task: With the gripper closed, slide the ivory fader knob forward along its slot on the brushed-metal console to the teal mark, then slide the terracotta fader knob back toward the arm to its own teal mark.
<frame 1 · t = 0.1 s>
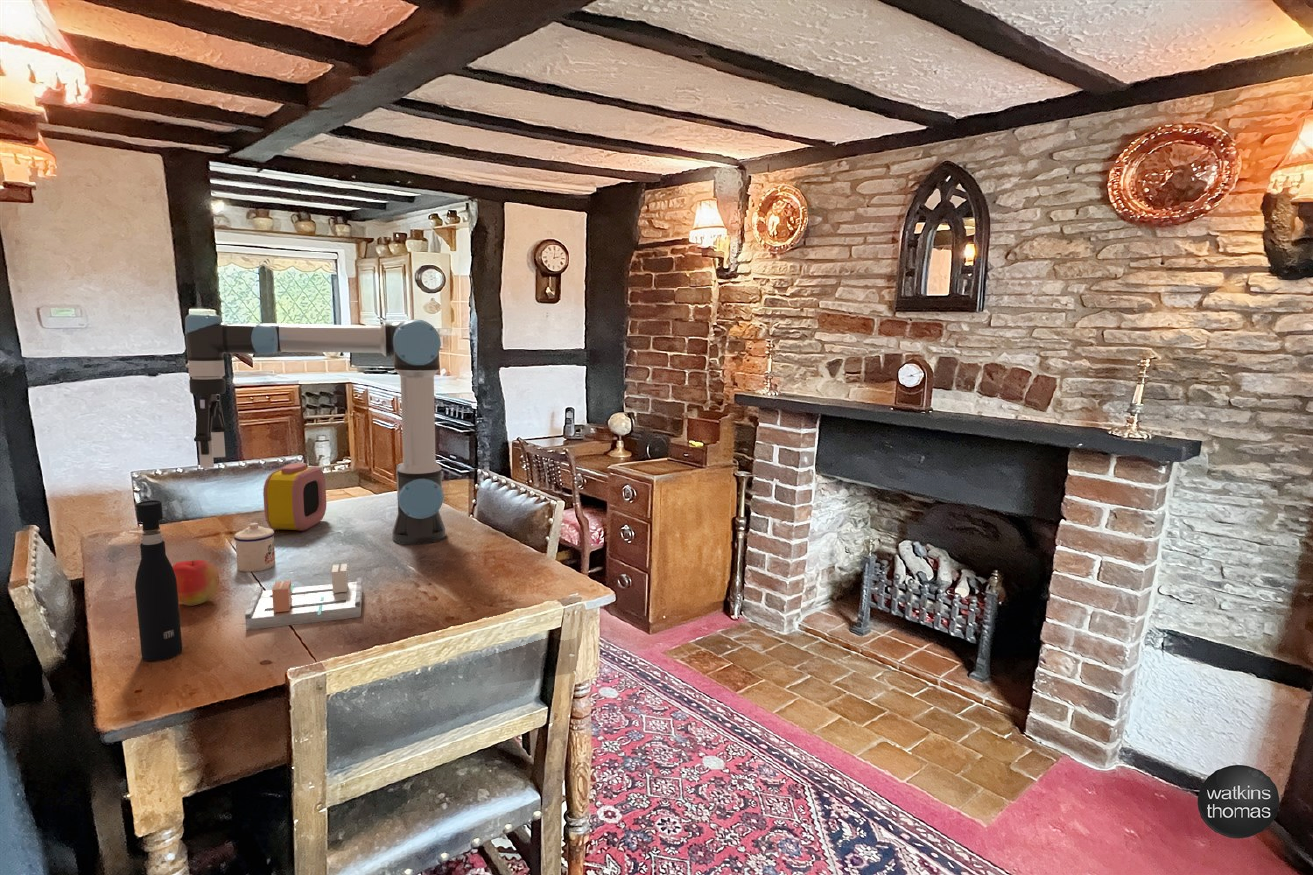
hand: (213, 462, 176), 28 cm above the table, fingers open, 13 cm apart
fader A: (340, 577, 162), point 5 cm above the table, slide at 0.0 cm
alarm clock: (297, 526, 218), on the table
teacup with lid: (257, 565, 184), on the table
black water bottle: (162, 655, 134), on the table
fader B: (282, 595, 151), point 5 cm above the table, slide at 11.0 cm
console: (308, 608, 157), on the table
apple: (195, 604, 158), on the table
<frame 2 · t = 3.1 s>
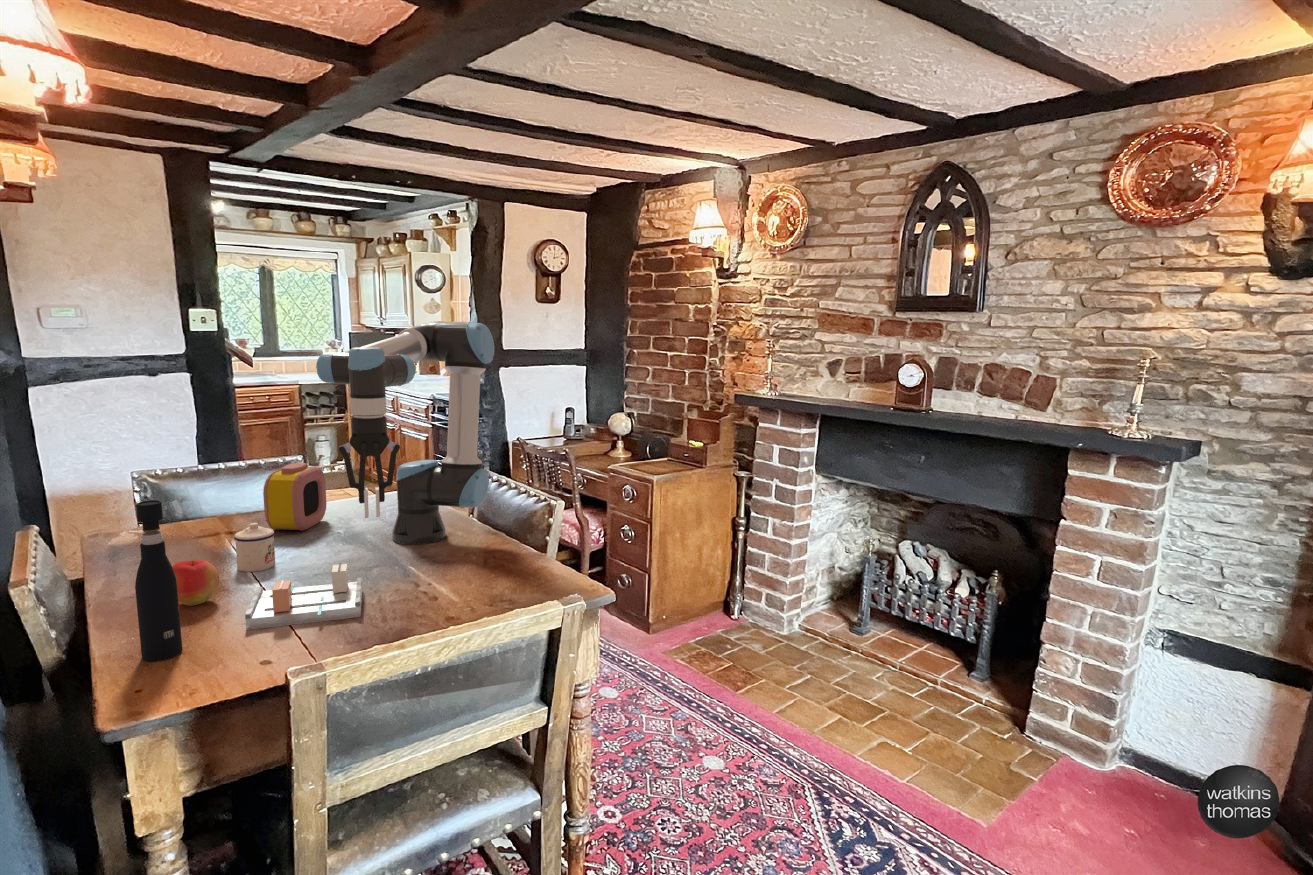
hand: (372, 515, 162), 19 cm above the table, fingers closed
nothing on the table moved.
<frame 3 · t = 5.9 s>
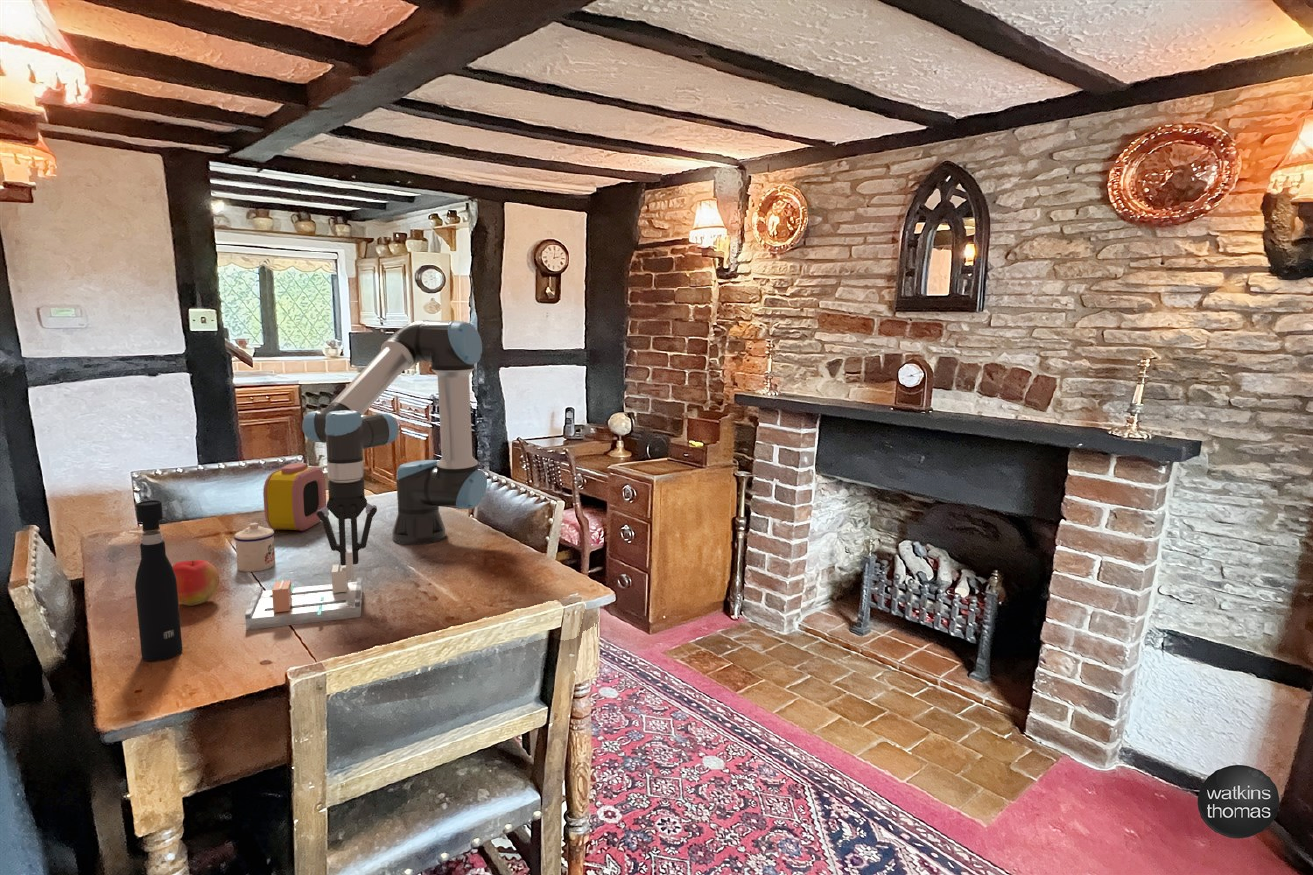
hand: (350, 577, 163), 5 cm above the table, fingers closed
fader A: (339, 577, 162), point 5 cm above the table, slide at 0.0 cm, touching gripper
everything else where it was.
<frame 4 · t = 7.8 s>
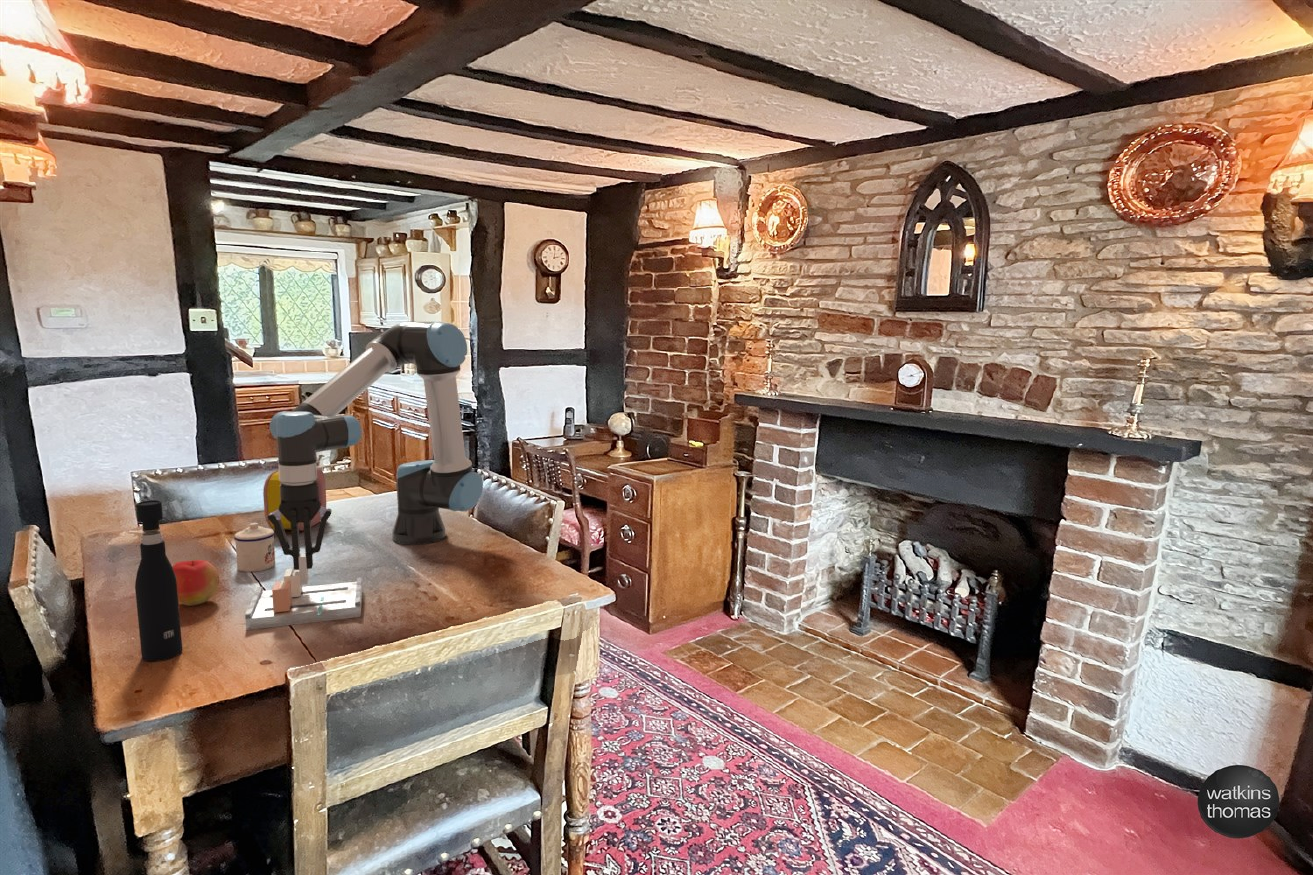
hand: (304, 582, 159), 5 cm above the table, fingers closed
fader A: (293, 582, 159), point 5 cm above the table, slide at 9.7 cm, touching gripper
everything else where it was.
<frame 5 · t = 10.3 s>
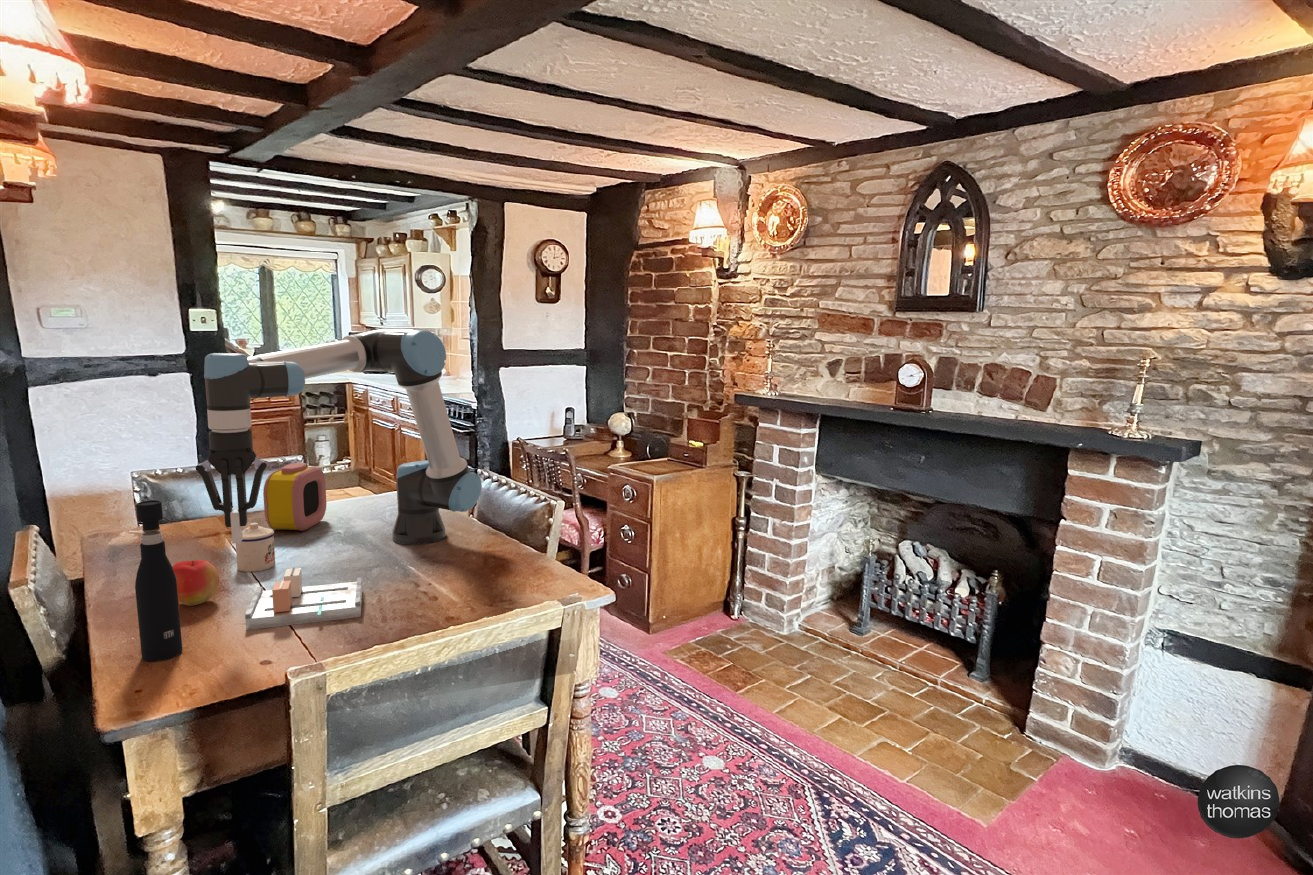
hand: (237, 541, 146), 18 cm above the table, fingers closed
fader A: (293, 582, 159), point 5 cm above the table, slide at 9.7 cm
everything else where it was.
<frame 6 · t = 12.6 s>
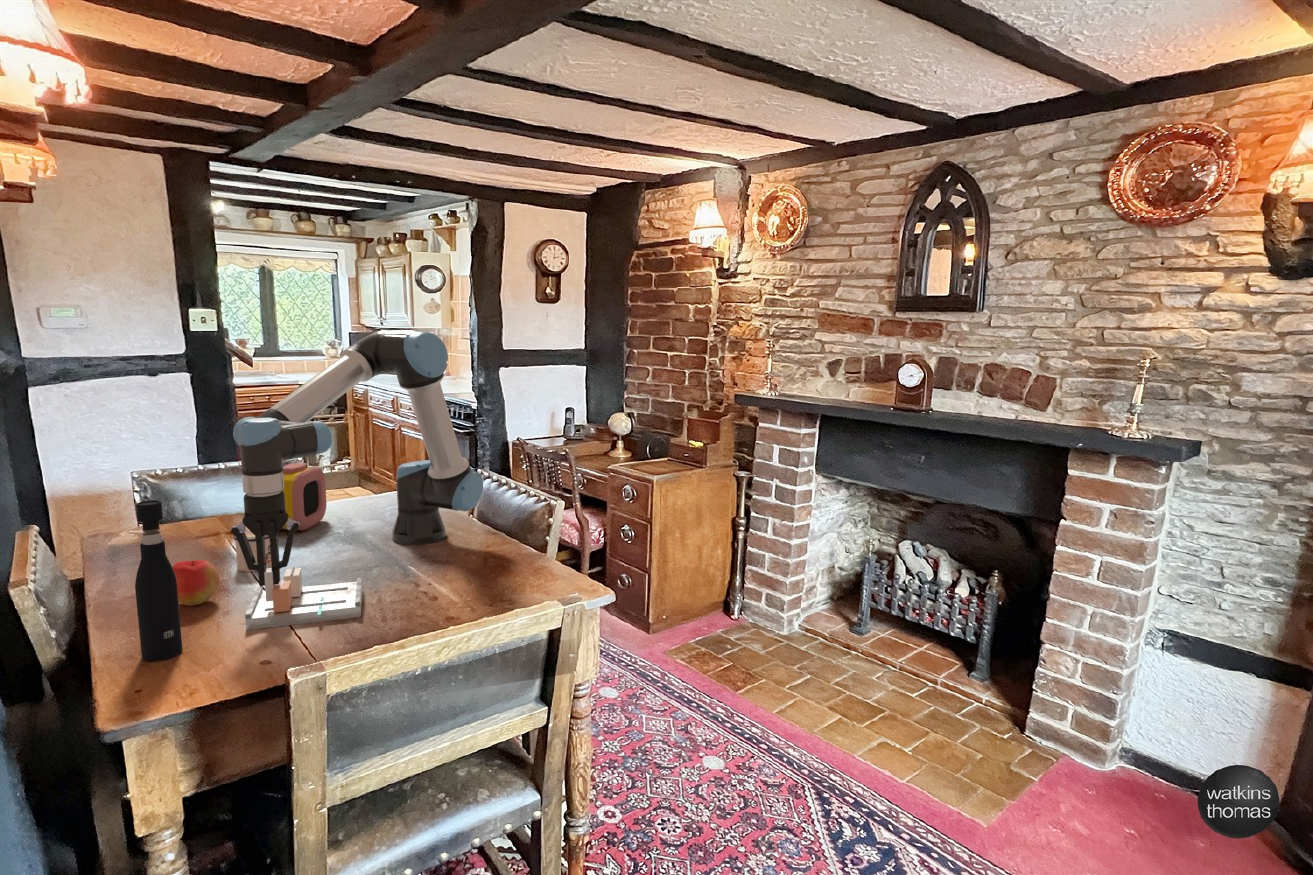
hand: (271, 598, 150), 5 cm above the table, fingers closed
fader B: (282, 595, 151), point 5 cm above the table, slide at 11.0 cm, touching gripper
everything else where it was.
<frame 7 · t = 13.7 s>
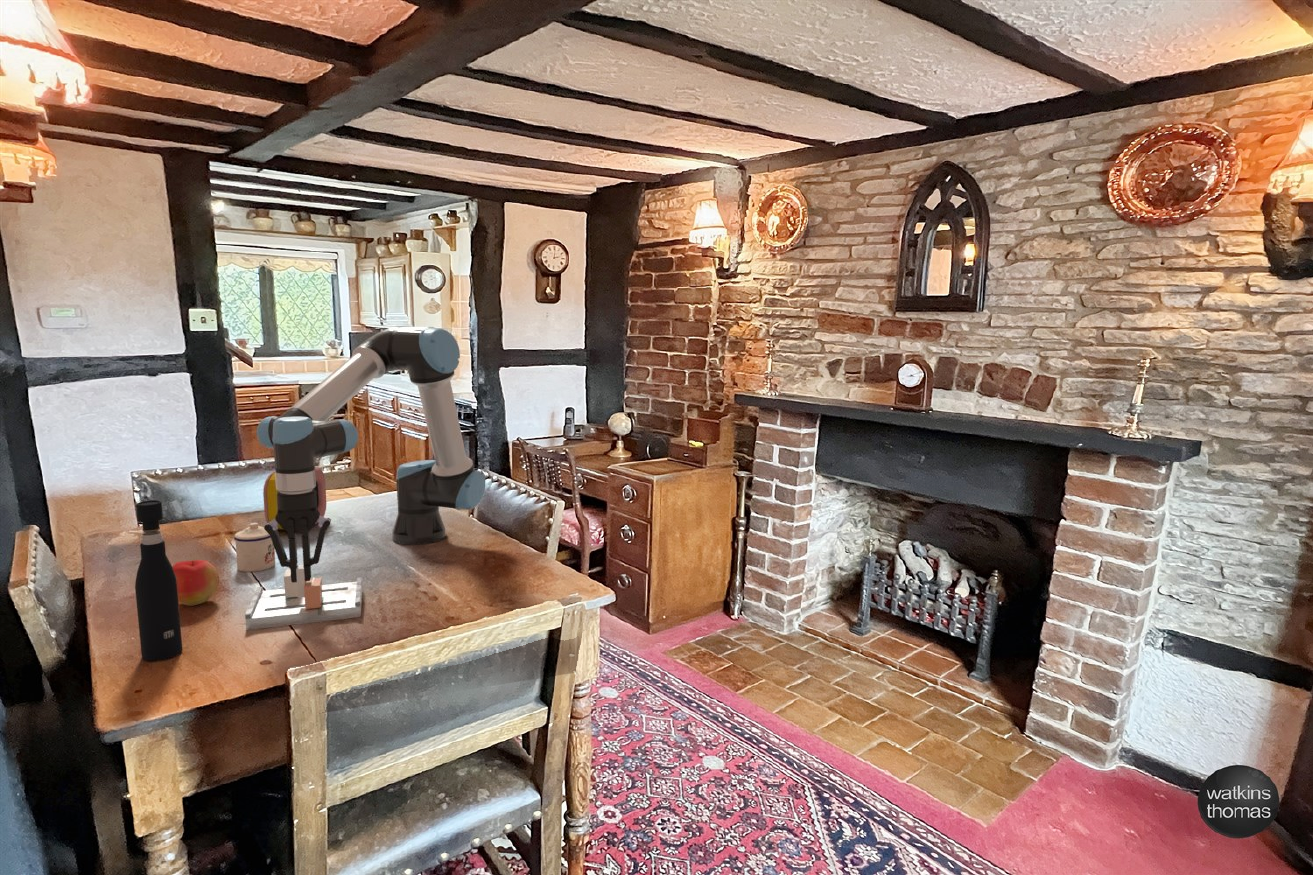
hand: (302, 595, 152), 5 cm above the table, fingers closed
fader B: (313, 592, 153), point 5 cm above the table, slide at 4.9 cm, touching gripper
everything else where it was.
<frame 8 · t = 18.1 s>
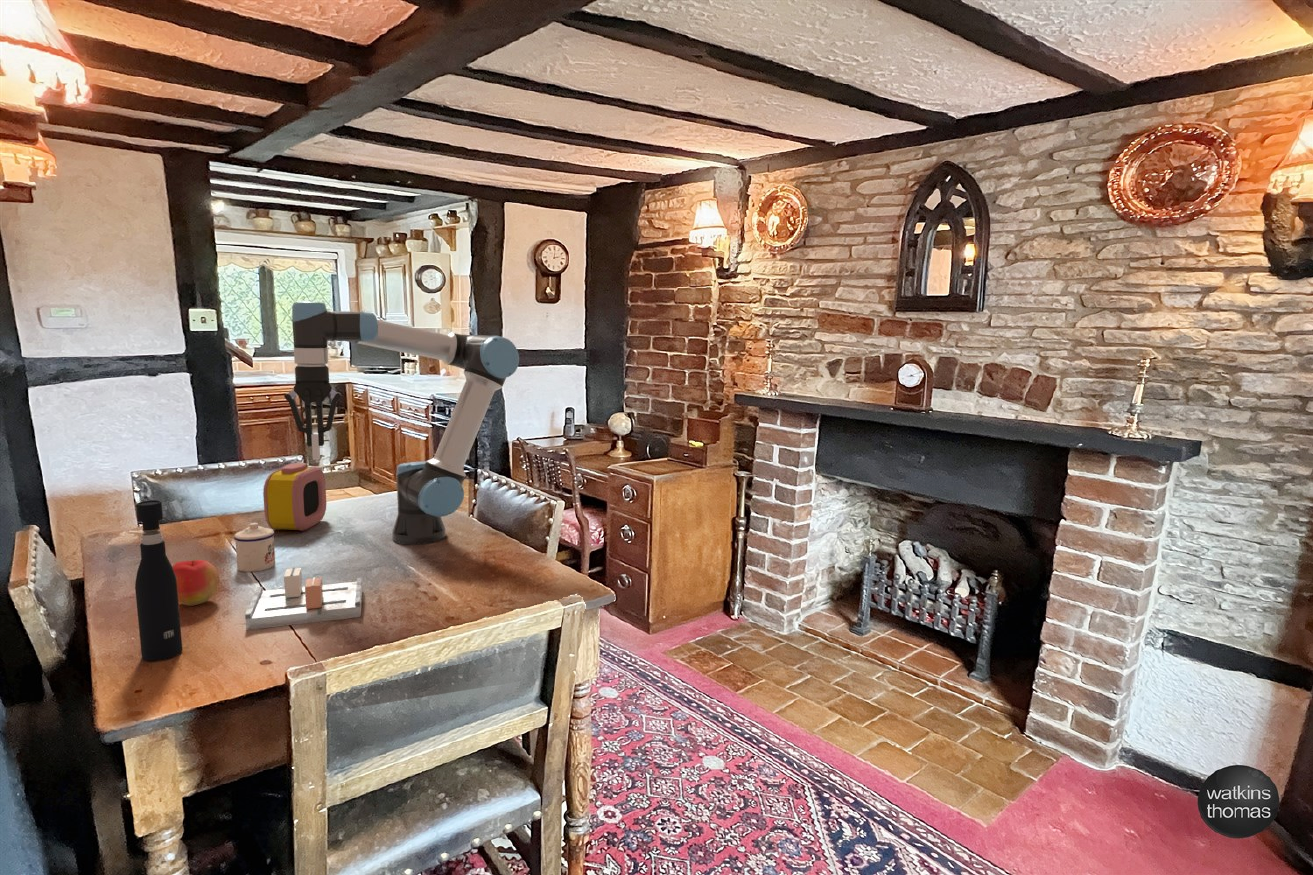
hand: (316, 458, 176), 29 cm above the table, fingers closed
fader B: (314, 592, 153), point 5 cm above the table, slide at 4.8 cm
everything else where it was.
at the end: fader A slide at 9.7 cm; fader B slide at 4.8 cm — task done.
